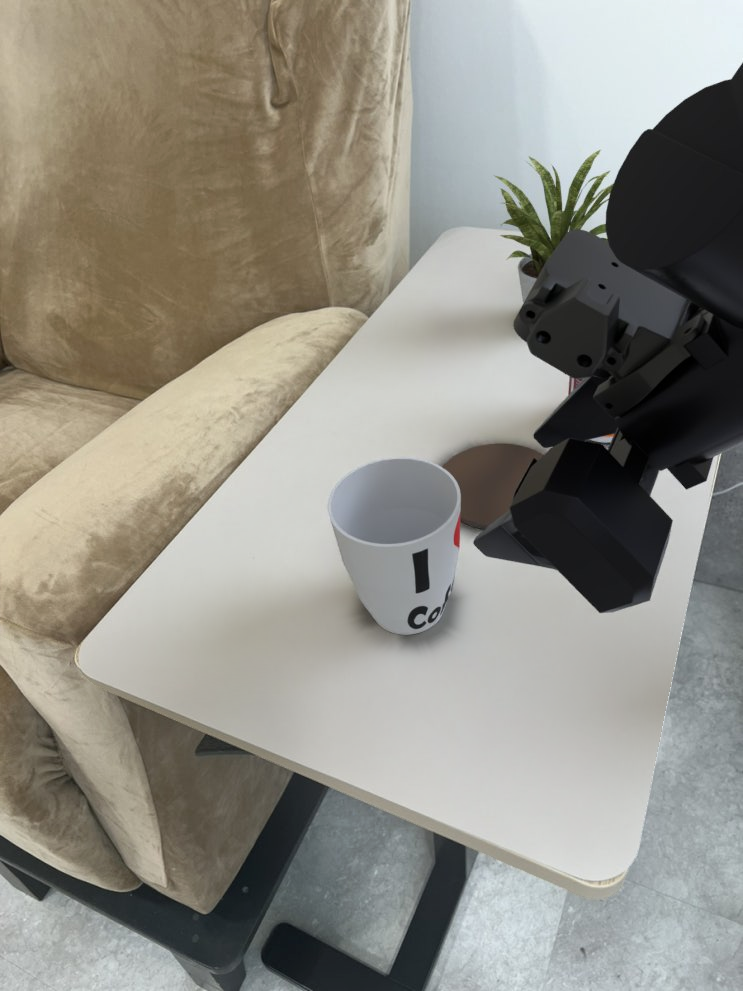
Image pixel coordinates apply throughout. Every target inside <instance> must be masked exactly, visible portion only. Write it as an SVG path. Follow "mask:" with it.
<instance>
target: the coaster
mask: <svg viewBox="0 0 743 991" xmlns="http://www.w3.org/2000/svg"><path fill="white" fill-rule="evenodd" d="M544 454H545V453H544ZM544 454H543V453H542V452H540V451H538V450H537V449H533V448H531V447H528V446H524V445H521V444H514V443H505V442H504V443H503V442H499V443H498V442H497V443H487V444H479V445H476V446H473V447H470V448H466V449H464V450H462V451H460V452H458V453H457V454H455V455H453V456H452V457H451V458H449V460H447V461H446V462H445V463H444V464H443V466H441V467H442V468H444V469H445V470H447V471H448V472H449V473H450V474H451V475H452V476H453V477H454V479H455V480H456V482H457V483H458V486H459V488H460V493H461V509H460V523H463V524H465V525H467V526H471V527H474V528H478V529H482V530H485V529H486V528H487V527H488V526H489V525H491V524H492V523H493V522H494V521H496V520H497V519H498V518H500V517H501V516H502V515H504V514H505V513H506V512H508V511H509V510H510V505H511V504H512V498H513V494H514V492H515V490H516V488H517V486H518V485H519V483H520V481H521V479H522V477H523V475H524V474H525V472H526V470H527V468H528V466H529V464H530V462H531V461H532V459H533V458H535V459H536V460H537V461H538V460H539V459H540V458H541V457H542V456H543V455H544Z"/></svg>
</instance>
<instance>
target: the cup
mask: <svg viewBox="0 0 743 991" xmlns="http://www.w3.org/2000/svg"><path fill="white" fill-rule="evenodd" d="M442 467H443V466H441V465H440V464H438V463H435V462H433V461H430V460H426V459H422V458H418V457H411V456H392V457H385V458H379V459H375V460H372V461H369V462H366V463H364V464H361V465H359V466H357V467H356V468H354V469H352V470H350V471H349V472H348V473H346V474H345V475H343V477H341V478H340V479H339V481H337V483H336V484H335V485H334V487H333V488H332V490H331V492H330V494H329V497H328V500H327V514H328V517H329V520H330V523H331V524H330V525H331V527H332V531H333V533H334V537H335V540H336V544H337V547H338V552H339V555H340V557H341V561H342V564H343V566H344V568H345V571H346V572H347V574H348V577H349V579H350V581H351V583H352V585H353V588H354V590H355V592H356V594H357V596H358V598H359V600H360V602H361V604H362V605H363V606H364V607H365V608H366V610H367V611H368V613H369V614H370V615H371V617H372V618H373V619H374V620H375V622H376V623H377V624H378V625H379V626H380V627H381V628H382V629H383V630H385V631H388V633H389V632H390V633H393V634H395V635H403V636H407V635H415V634H420V633H422V632H425V631H427V630H429V629H431V628H432V627H433V626H435V625H436V624H437V623H438V622H439V620H440V619H441V618H442V616H443V614H444V611H445V609H446V606H447V604H448V601H449V599H450V596H451V594H452V591H453V588H454V584H455V577H456V573H457V572H456V571H457V566H458V560H459V553H460V546H461V539H460V538H461V522H460V509H461V493H460V488H459V486H458V483H457V482H456V480H455V479H454V477H453V476H452V475H451V474H450V473H449V472H448V471H447V470H445V469H444V468H442Z"/></svg>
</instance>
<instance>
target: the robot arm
mask: <svg viewBox="0 0 743 991" xmlns="http://www.w3.org/2000/svg"><path fill="white" fill-rule="evenodd" d="M613 183H614V184H613ZM613 183H612V184H613V187H612V189H611V192H610V194H609V195H608V196H609V197H608V199H609V200H608V201H607V205H606V211H605V224H606V233H605V234H606V239H608V242H607V241H605V240H603V239H601V238H602V237H599V236H598V235H594V234H592V233H590V232H589V231H587V230H585V229H580V230H579V229H574V230H571V231H569V230H568V233H567V234H566V235H565V236H564V238H563V239H562V241H561V242H560V243H559V245H558V246H557V248H556V249H555V250H554V252H553V253H552V255H551V256H550V257H549V259H548V260H547V262H546V263H545V265H544V267H543V269H542V270H541V272H540V274H539V276H538V278H537V280H536V281H535V283H534V285H533V287H532V289H531V290H530V292H529V294H528V296H527V298H526V300H525V301H524V303H523V302H522V303H523V304H522V305H521V307H520V309H519V310H518V313H517V314H516V315H515V318H514V319H513V323H512V324H513V330H514V331H515V333H516V335H517V337H519V338H520V339H521V340H522V341H524V342H525V343H526V345H527V348H528V350H529V353H530V354H531V355H532V356H534V357H535V358H537V359H538V360H541V361H543V362H544V363H546V364H548V365H549V366H551V367H552V368H555V369H556V370H558V371H560V372H561V373H563V374H564V375H566V376H568V377H572V378H574V379H583V380H582V381H581V382H580V383H579V384H578V386H577V387H576V388H575V389H574V390H573V391H572V392H571V393H570V394H569V395H567V396H566V397H565V399H563V400H562V401H561V403H560V404H559V405H557V407H556V408H555V409H554V410H553V411H552V412H551V413H550V415H549V416H547V418H546V419H545V420H544V421H543V422H542V423H541V424H540V425H539V426H538V427H537V428H536V429H535V431H534V433H533V434H532V436H533V439H534V440H535V441H536V442H537V443H538V444H539V445H540V446H541V447H542V448H543V449H548V450H547V451H546V452H545V453H544V455H543V456H542V457H541V458H540V459H539V460H538V461H537V460H536V459H535V458H533V459H532V461H531V462H530V464H529V466H528V468H527V470H526V472H525V474H524V475H523V477H522V479H521V481H520V483H519V485H518V486H517V488H516V490H515V492H514V494H513V498H512V504H511V505H510V510H509V511H508V512H506V513H505V514H504V515H502V516H501V517H500V518H498V519H497V520H496V521H494V522H493V523H492V524H491V525H489V526H488V527H487V528H486V529H483V530H482V531H481V532H480V533H479V534H478V535H476V536H475V538H474V540H473V542H472V544H473V546H474V547H475V548H476V549H477V550H479V552H480V553H481V554H482V555H484V556H485V557H487V558H492V559H497V560H502V561H508V562H513V563H518V564H519V563H520V564H524V565H530V566H535V567H541V568H544V569H545V568H546V569H550V570H555V571H557V572H558V573H559V574H560V575H562V577H564V579H565V580H566V581H567V582H568V583H569V584H570V585H571V586H572V587H573V588H575V590H576V591H577V592H578V593H579V594H580V595H581V596H582V597H583V598H584V599H585V600H586V601H587V602H588V603H589V604H590V605H591V606H592V607H593V608H594V609H595V610H596V611H597V612H598V613H599V614H609V613H615V612H619V611H621V610H625V609H628V608H631V607H634V606H637V605H640V604H643V603H646V602H647V603H648V602H650V601H651V598H652V595H653V592H654V589H655V585H656V583H657V580H658V576H659V573H660V570H661V567H662V563H663V560H664V558H665V554H666V551H667V549H668V545H669V541H670V537H671V532H672V526H673V522H674V520H673V519H672V518H671V517H670V515H669V514H667V512H666V511H665V510H664V509H663V508H662V507H661V506H660V505H659V504H658V503H657V502H656V500H654V498H653V497H652V496H651V495H652V493H653V489H654V487H655V485H656V482H657V479H658V476H659V473H660V472H662V471H664V470H666V469H667V470H668V471H669V473H670V474H671V475H672V476H673V478H675V479H676V480H677V482H679V484H680V485H681V486H682V487H683V488H684V489H685V490H689V489H692V488H693V487H696V486H699V485H700V484H703V483H705V482H707V481H708V479H709V478H708V477H709V474H710V470H711V468H712V464H713V461H714V458H715V457H718V456H719V455H721V454H723V453H726V452H728V451H730V450H732V449H734V448H736V447H739V446H741V445H743V62H741V64H740V65H739V67H738V68H737V70H736V71H735V72H734V74H733V75H732V77H731V78H730V79H724V80H722V81H719V82H716V83H713V84H711V85H708V86H705V87H703V88H702V89H699V90H698V91H696V92H694V93H693V94H691V95H690V96H688V97H686V98H685V99H683V100H682V101H681V102H680V103H678V104H677V105H676V106H675V107H674V108H673V109H671V110H670V111H669V112H667V113H666V114H665V115H664V116H663V117H662V118H661V119H660V121H658V123H657V124H655V126H654V127H653V128H647V129H646V130H644V131H643V132H642V133H641V134H640V135H639V137H638V139H637V140H636V141H635V142H634V144H633V145H632V147H631V148H630V149H629V151H628V153H627V154H626V157H625V158H624V161H623V162H622V164H621V165H620V168H619V169H618V171H617V174H616V176H615V179H614V181H613ZM611 434H614V436H613V438H612V441H611V442H609V445H608V448H606V447H605V446H604V445H603V444H602V443H599V442H594V441H591V440H590V439H594V438H598V437H602V436H606V435H611Z"/></svg>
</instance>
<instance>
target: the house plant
mask: <svg viewBox="0 0 743 991" xmlns="http://www.w3.org/2000/svg"><path fill="white" fill-rule="evenodd" d="M601 151H602V149H599V150H597V151H595V152H593V153H592V154H590V155H589V156H588V157H587V158H586V159H585V160H584V161H583V163H582V164H581V165H580V167H579V169H578V170H577V172H576V174H575V175H574V176H573V179H572V181H571V183H570V186H569V188H568V193H567V199H566V203H565V207H564V210H563V196H562V188H561V186H562V185H561V181H560V176H559V174H558V171H557V169H556V168H555V167H554V165H551V167H552V170H553V173H554V177H555V181H554V178H553V176H552V174H551V172H550V171H549V170H548V169H547V168H546V167H545V166H544V165H543V164H541V163H540V162H539V161H538V160H536V158H533V157H531V156H528V158H529V160H530V162H531V163H529V162H528V161H527V160H525V159H524V161H525V162H526V163H527V164H528V165H529V166H530V167H531V168H532V169H533V170H535V172H536V173H537V174H538V175H539V177H540V179H541V180H540V181H541V183H542V187H543V194H544V199H545V204H546V205H545V206H546V209H547V214H548V221H549V229H550V231H549V232H550V233H549V234H548V231H547V230H546V227H545V226H544V225H543V222H542V221H541V219H540V217H539V215H538V213H537V210H536V209H535V206H533V203H532V202H531V201H530V199H529V198H528V196H526V194H525V193H524V191H523V190H521V189H520V188H519V187H518V186H516V185H515V184H514V183H512V182H511V181H509V180H508V179H507V178H504V177H503V176H498V175H494V177H495V178H497V179H498V180H499V181H501V182H502V184H504V185H505V186H506V187H508V188H509V190H510V191H511V192H512V194H513V195H514V196H515V197H516V199H517V200H518V205H519V206H520V207H519V206H518V205H517V203H516V201H515V200H514V198H513V197H512V196H511V194H510V193H509V192H508V191H506V190H505V189H503V188H500V192H501V195H502V197H503V199H504V202H501V204H504V205H505V208H506V211H507V212H506V213H507V214H508V215H509V217H510V219H507V220H505V221H504V222H503V223H501V224H500V226H502V225H510V226H513V227H517V228H518V230H519V231H520V233H521V234H522V236H521V235H515V234H500V235H499V237H502V238H505V239H508V240H513V241H515V242H516V243H519V244H521V245H523V246H525V247H528V248H529V249H530V253H529V254H528V253H526V252H525V251H522V250H519V249H518V250H515V251H513V252H512V253H510V255H508V257H507V258H506V260H509V259H512V258H513V259H514V258H521V259H520V260H519V262H518V264H517V272H518V279H519V285H520V291H521V297H522V303H524V301H525V300H526V298H527V296H528V294H529V292H530V290H531V289H532V287H533V285H534V283H535V281H536V280H537V278H538V276H539V274H540V272H541V270H542V269H543V267H544V265H545V263H546V262H547V260H548V259H549V257H550V256H551V255H552V253H553V252H554V250H555V249H556V248H557V246H558V245H559V243H560V242H561V241H562V239H563V238H564V236H565V235H566V234H567V233H568V232H569V231H571V230H574V229H579V230H582V228H583V226H584V225H585V224H586V223H587V221H588V220H589V219H590V218H591V217H592V215H594V214H595V213H597V211H598V210H599V209H600V208H601V207H602V206H603V204H605V203H607V202H608V201H609V198H607V199H606V197H608V196H609V195H610V192H611V189H612V187H613V184H614V182H613V183H611V184H610V185H608V186H607V187H605V188H603V189H601V190H600V191H599V192H598V193H597V191H598V189H599V188H600V186H601V185H602V183H603V181H604V179H605V178H608V176H607V175H609V174H610V172H611V170H608V171H605V172H603V173H602V174H601V175H595V176H593V177H592V178H590V179H589V180H588V181H587V182H586V184H585V185H584V186H583V184H584V182H585V180H586V177H587V176H588V174H589V172H590V171H591V169H592V166H593V164H594V161H595V159H596V158H597V157H598V155H600V153H601ZM532 164H533V165H532ZM593 180H595V181H593ZM591 181H593V183H592V185H591V186H590V188H589V190H588V191H587V194H586V196H585V198H584V200H583V201H582V204H581V205H580V206H579V208H578V209H577V210H575V208H576V205H577V203H578V201H579V199H580V197H581V194H582V192H583V189H584V188H585V187H586V186H587V185H588V184H589V183H590V182H591ZM582 187H583V188H582ZM595 194H596V195H595ZM604 199H605V200H604ZM592 203H593V204H592ZM590 206H591V207H590ZM589 207H590V208H589ZM588 208H589V210H588ZM587 210H588V211H587ZM588 232H590V233H592V234H594V235H596V236H598V235H601V234H606V223H603V224H599V225H597V226H595V227H594V228H592V229H590V230H589V231H588ZM600 238H601V239H603V240H605V241H607V242H608V239H607V237H606V238H605V237H600Z"/></svg>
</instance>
